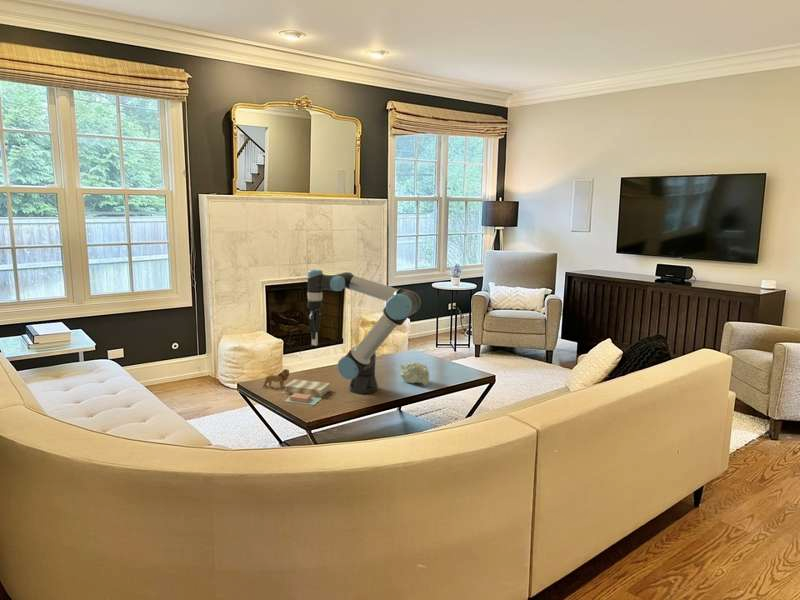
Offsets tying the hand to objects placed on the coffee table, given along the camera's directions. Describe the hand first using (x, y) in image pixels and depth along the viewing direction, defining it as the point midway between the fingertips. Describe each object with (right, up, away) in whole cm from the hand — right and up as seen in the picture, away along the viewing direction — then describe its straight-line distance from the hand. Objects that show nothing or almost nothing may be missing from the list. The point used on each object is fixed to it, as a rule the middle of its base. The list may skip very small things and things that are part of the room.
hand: (314, 344), depth 301 cm
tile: (-5, -24, -12) cm, 28 cm away
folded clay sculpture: (+52, -23, +21) cm, 61 cm away
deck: (-4, -24, +1) cm, 25 cm away
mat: (-4, -27, -12) cm, 29 cm away
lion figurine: (-21, -23, +8) cm, 32 cm away
